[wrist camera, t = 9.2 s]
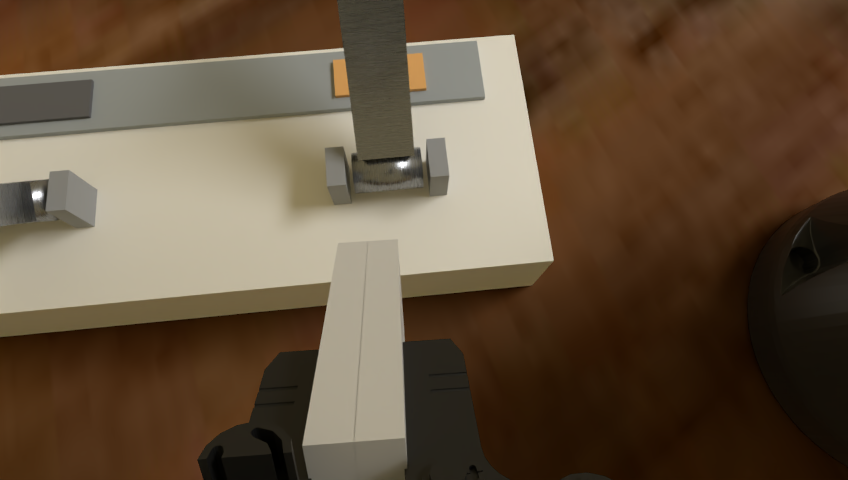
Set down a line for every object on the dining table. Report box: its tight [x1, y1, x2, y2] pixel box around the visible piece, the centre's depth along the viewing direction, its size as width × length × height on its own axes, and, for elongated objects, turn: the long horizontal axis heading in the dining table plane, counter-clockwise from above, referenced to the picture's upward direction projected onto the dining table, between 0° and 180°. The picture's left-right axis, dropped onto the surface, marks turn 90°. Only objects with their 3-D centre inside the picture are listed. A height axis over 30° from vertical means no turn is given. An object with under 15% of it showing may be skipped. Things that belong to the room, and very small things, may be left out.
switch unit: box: [0, 35, 554, 337], centre depth 27 cm, size 30×12×7 cm, turn 96°
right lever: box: [337, 0, 424, 194], centre depth 22 cm, size 3×3×13 cm
